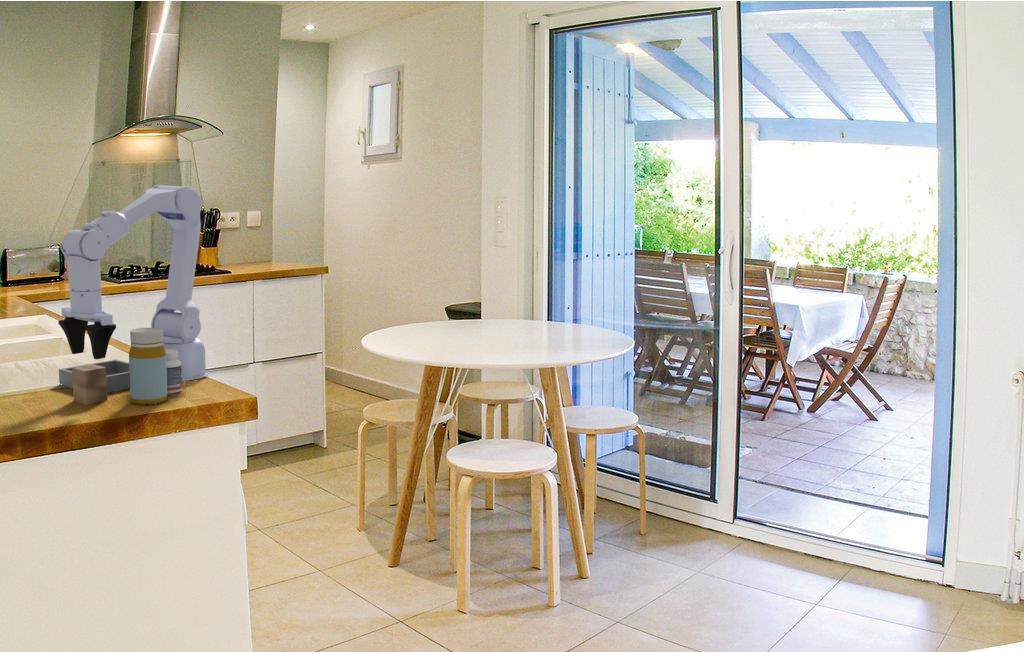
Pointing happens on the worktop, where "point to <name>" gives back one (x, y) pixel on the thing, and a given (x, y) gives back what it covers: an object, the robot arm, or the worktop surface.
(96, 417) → the worktop surface
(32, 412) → the worktop surface
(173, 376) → the pill bottle
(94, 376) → the walnut block
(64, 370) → the bin
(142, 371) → the bottle
